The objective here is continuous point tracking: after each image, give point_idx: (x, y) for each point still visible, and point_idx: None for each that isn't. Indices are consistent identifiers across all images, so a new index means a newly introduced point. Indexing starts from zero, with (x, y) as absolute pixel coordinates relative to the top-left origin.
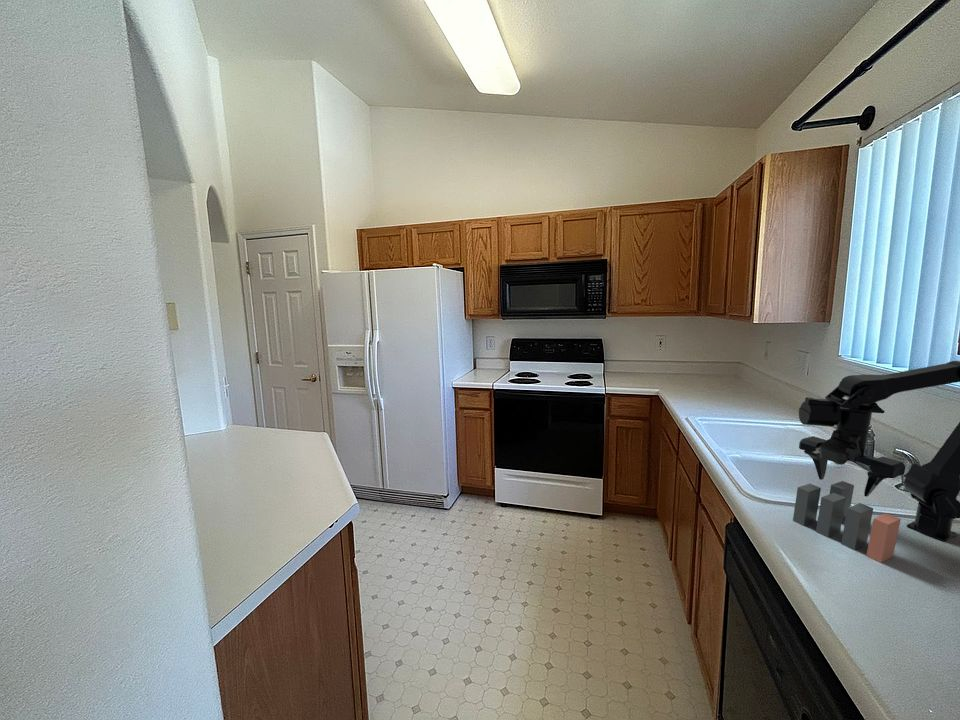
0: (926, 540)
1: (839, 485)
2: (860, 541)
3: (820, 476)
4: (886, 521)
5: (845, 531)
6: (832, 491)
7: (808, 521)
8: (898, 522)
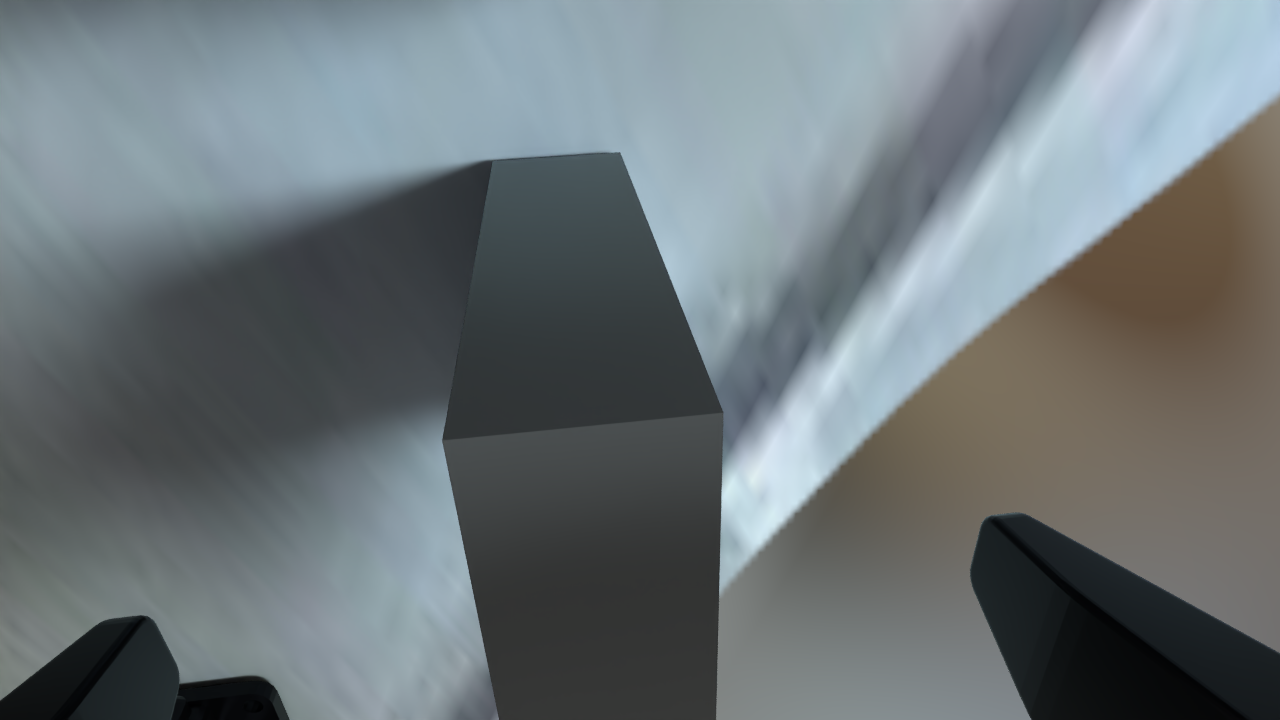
0: (60, 627)
1: (616, 556)
2: None
3: (1050, 556)
4: None
5: None
6: (645, 338)
7: None
8: None
